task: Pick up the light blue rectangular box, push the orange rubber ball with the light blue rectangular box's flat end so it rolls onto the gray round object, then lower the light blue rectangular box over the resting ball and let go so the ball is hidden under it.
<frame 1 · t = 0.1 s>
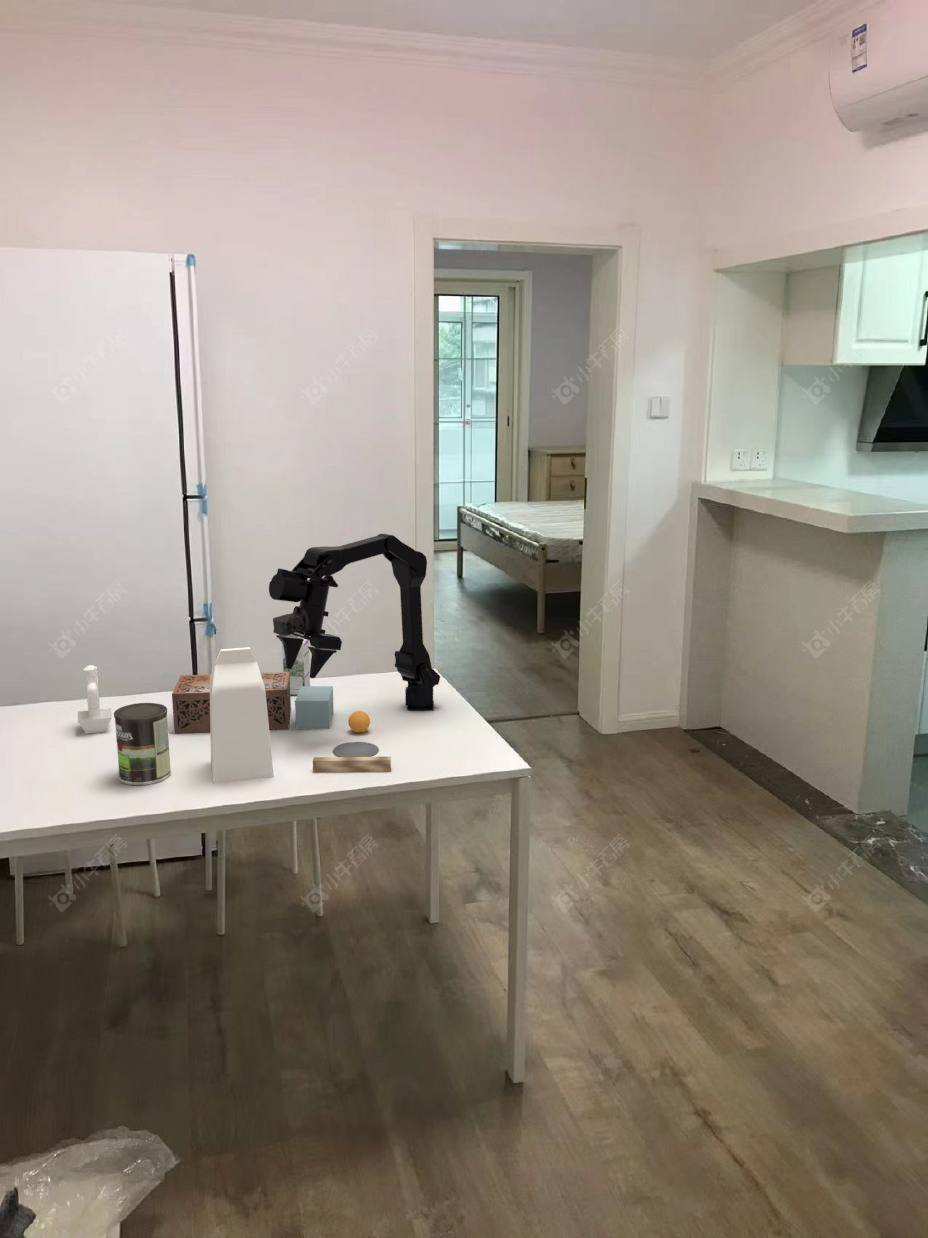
hand: (300, 673, 222), 15 cm above the table, tool pointing down, fingers open, 9 cm apart
gray round object: (355, 750, 218), on the table
syrup box: (297, 693, 259), on the table
tan wooden bar: (352, 769, 208), on the table
milk: (241, 770, 208), on the table
ball: (359, 721, 229), on the table
coffee can: (145, 776, 204), on the table
light blue rectangular box: (315, 720, 237), on the table
tissue box cover: (235, 723, 237), on the table
figurine: (95, 730, 231), on the table
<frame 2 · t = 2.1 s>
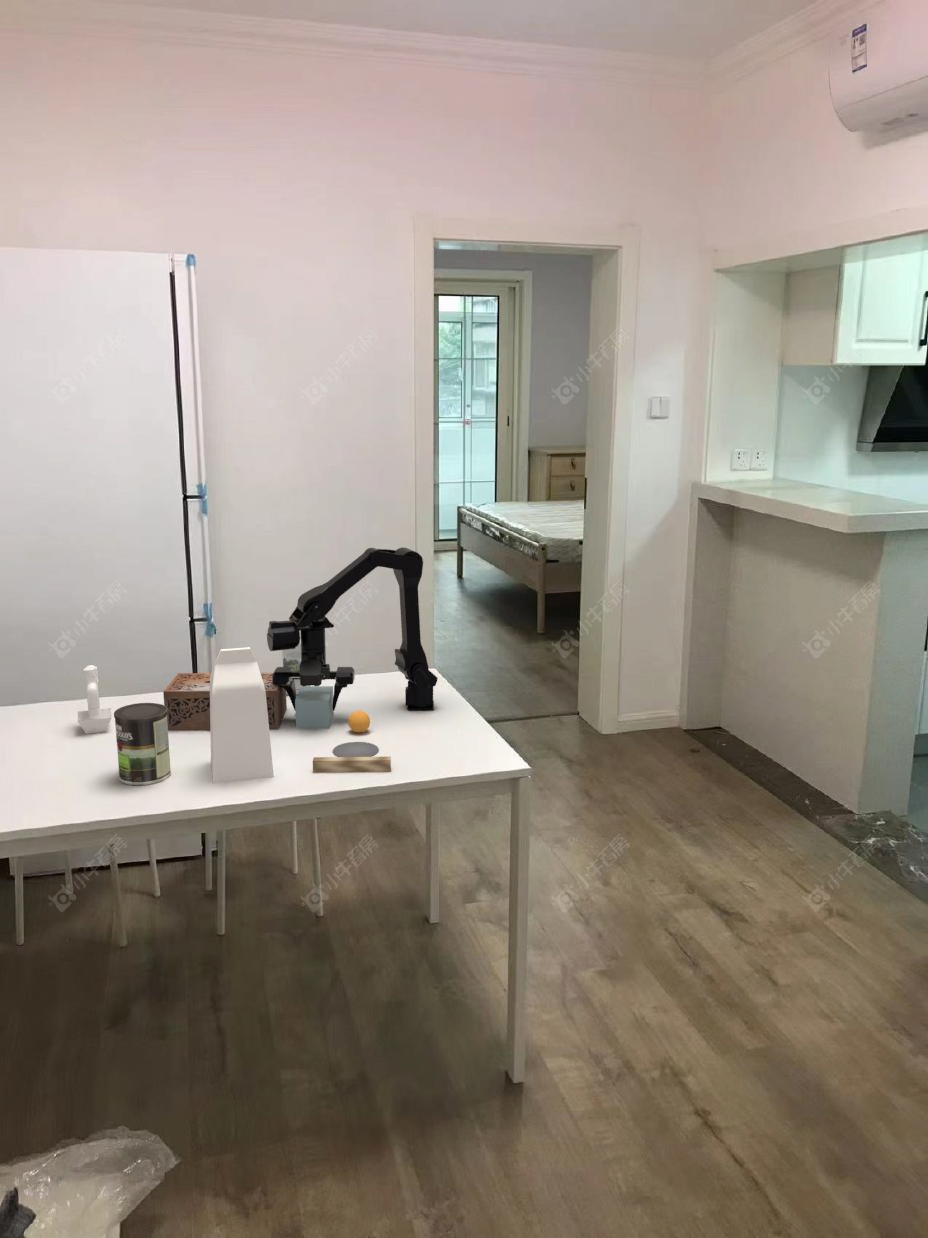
hand: (314, 710, 237), 3 cm above the table, tool pointing down, fingers open, 9 cm apart
tissue box cover: (228, 722, 238), on the table, touching gripper
everything else where it was.
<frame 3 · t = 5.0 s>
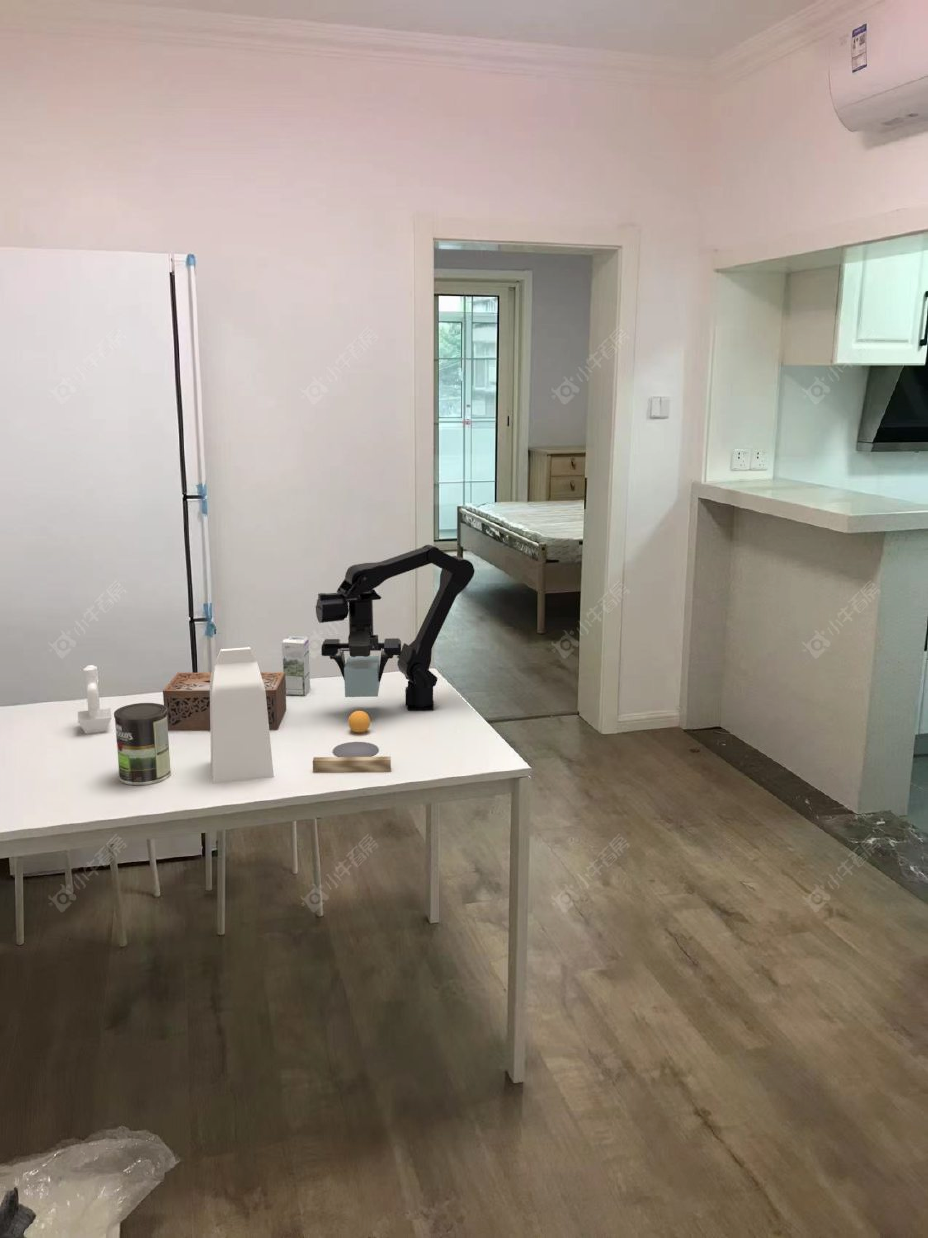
hand: (362, 681, 240), 8 cm above the table, tool pointing down, fingers closed on light blue rectangular box, 8 cm apart
light blue rectangular box: (362, 689, 241), point 6 cm above the table, touching gripper
tissue box cover: (228, 722, 238), on the table
everything else where it was.
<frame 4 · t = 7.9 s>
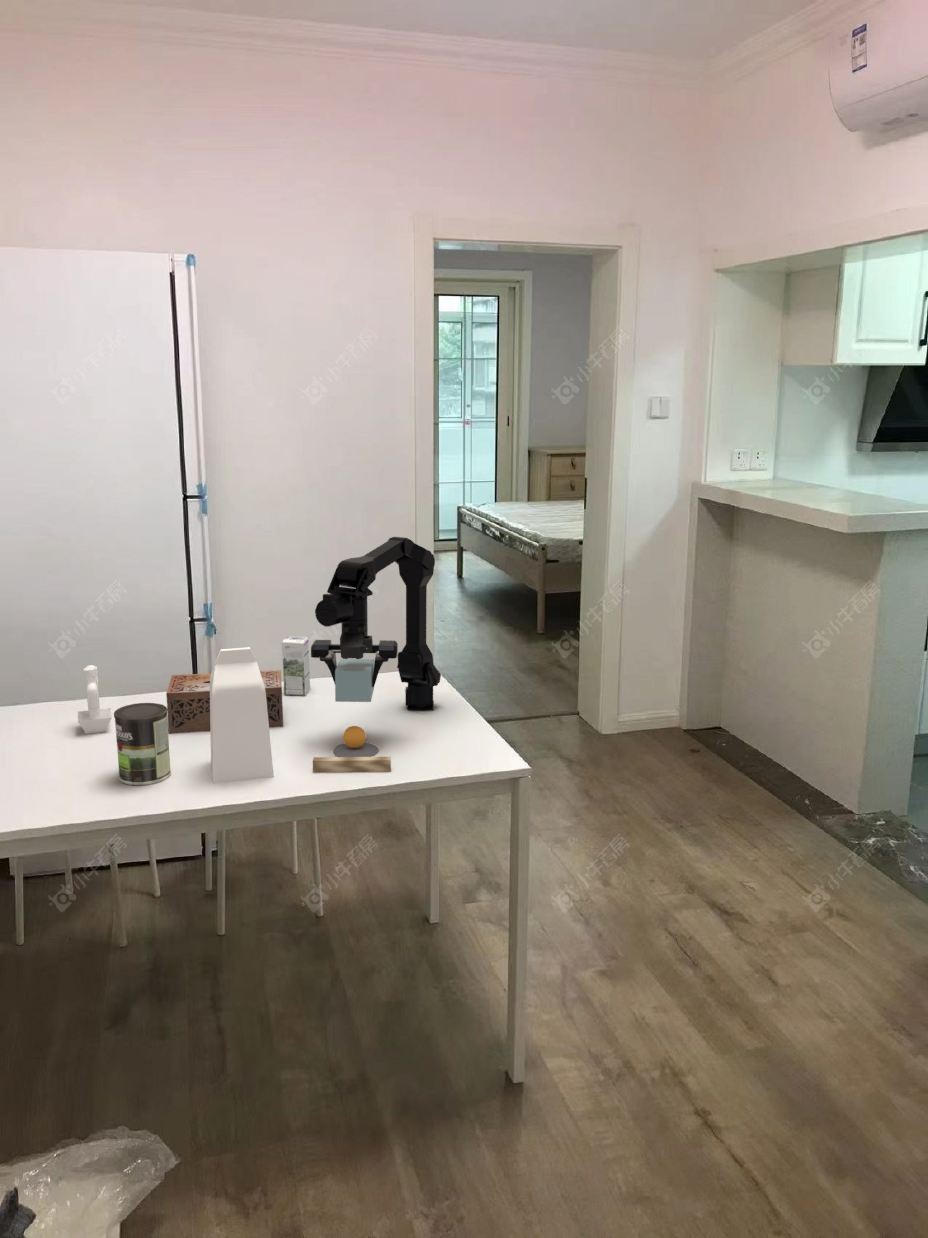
hand: (355, 686, 222), 13 cm above the table, tool pointing down, fingers closed on light blue rectangular box, 8 cm apart
ball: (354, 737, 220), on the table
light blue rectangular box: (355, 694, 223), point 11 cm above the table, touching gripper
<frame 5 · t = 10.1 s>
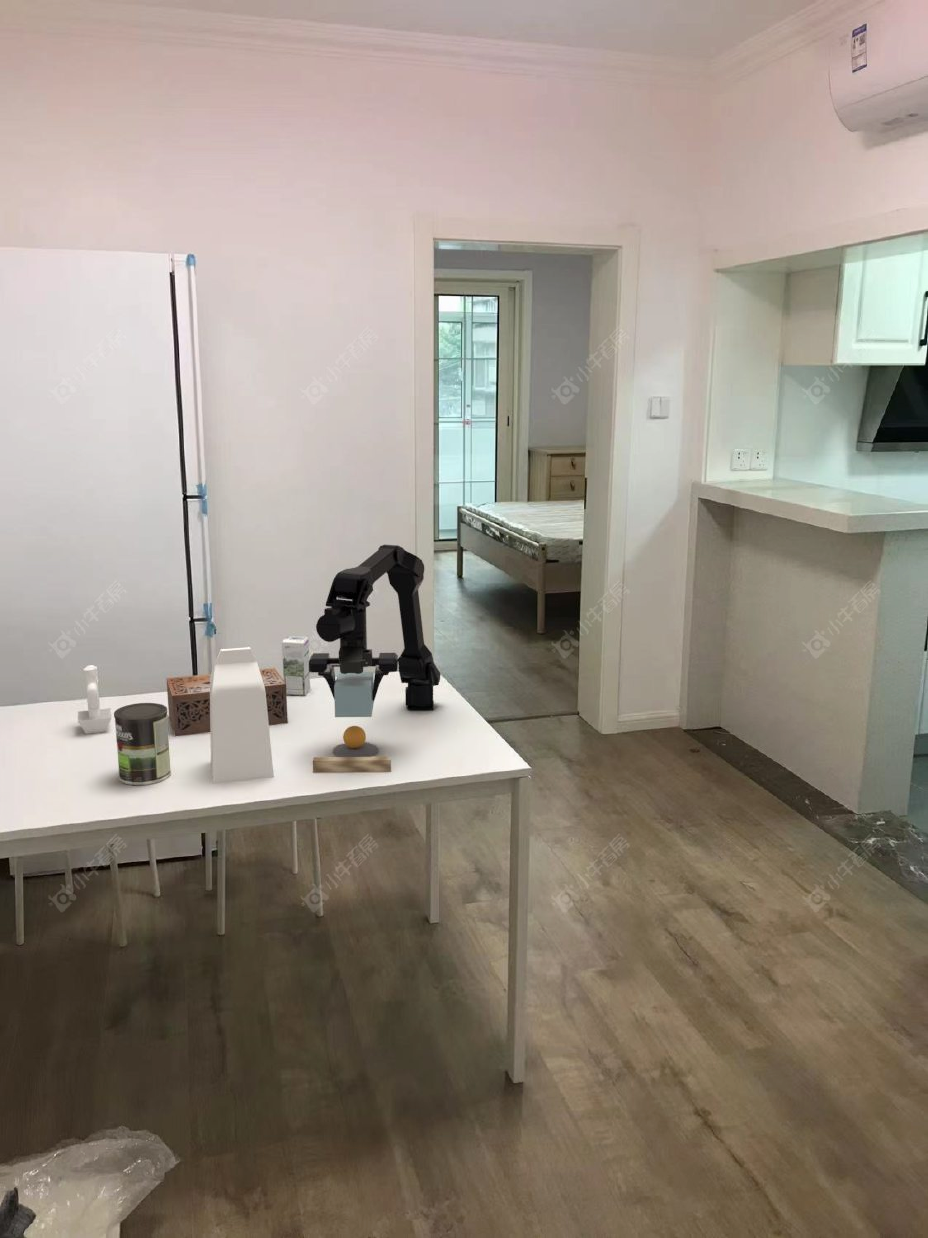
hand: (354, 700, 216), 12 cm above the table, tool pointing down, fingers closed on light blue rectangular box, 8 cm apart
light blue rectangular box: (354, 708, 216), point 10 cm above the table, touching gripper
when the fingers open (2 cm above the table, at t = 12.3 s): light blue rectangular box stays where it is, on the table.
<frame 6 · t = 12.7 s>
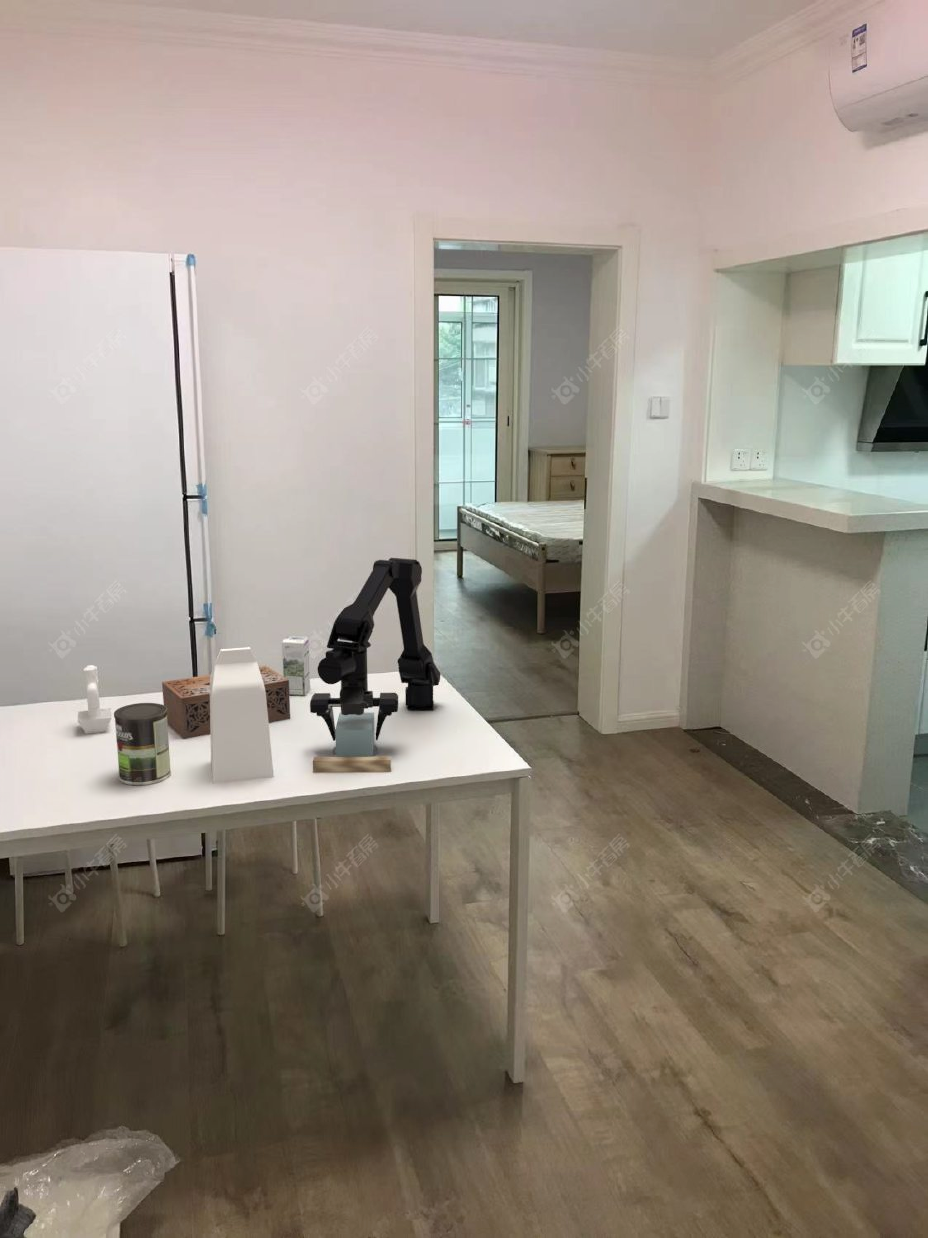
hand: (355, 740, 218), 2 cm above the table, tool pointing down, fingers open, 9 cm apart
light blue rectangular box: (355, 750, 219), on the table
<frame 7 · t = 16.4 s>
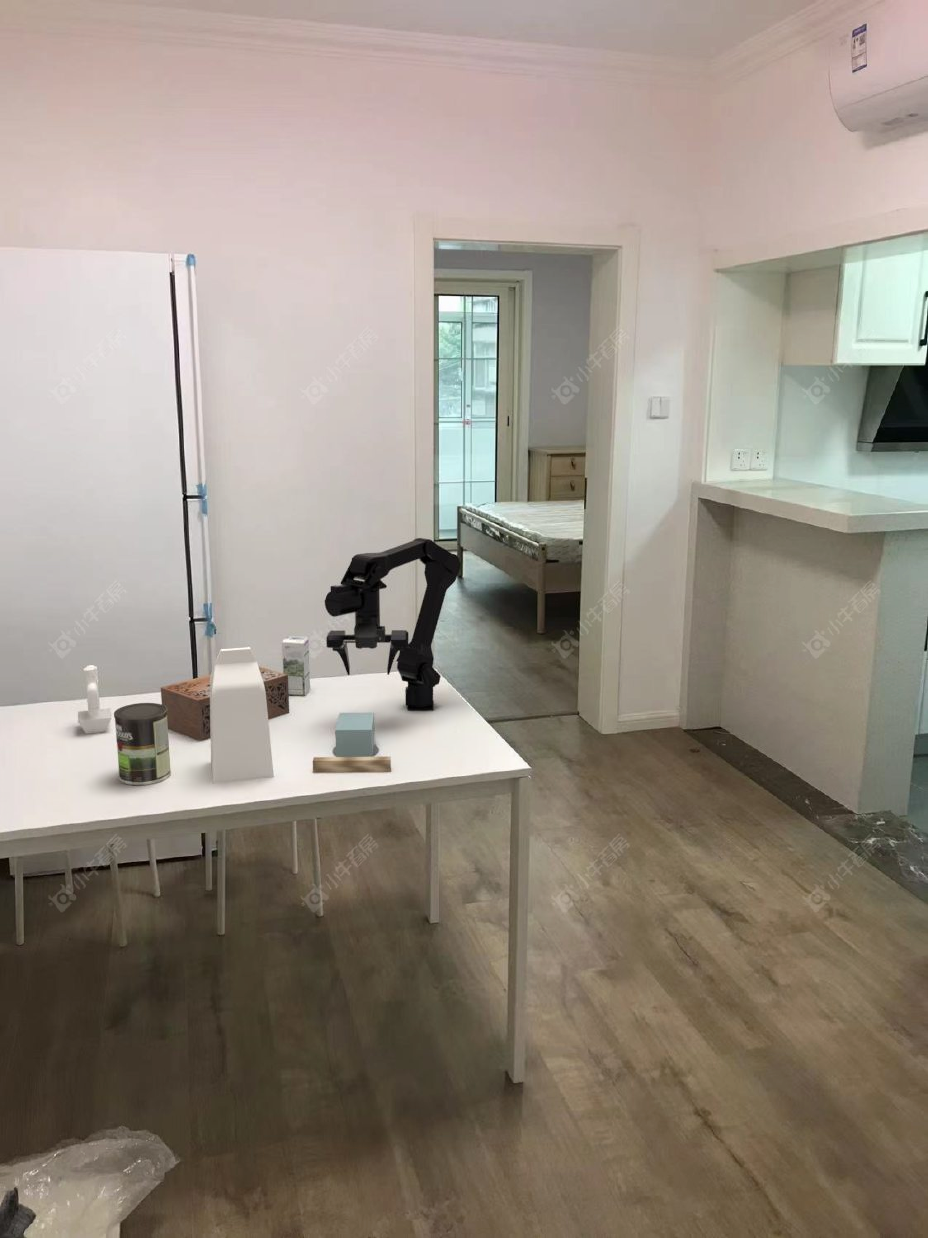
hand: (368, 674, 233), 12 cm above the table, tool pointing down, fingers open, 9 cm apart
at the end: ball 1.7 cm from the light blue rectangular box (horizontally); light blue rectangular box on the table; ball moved 10.2 cm from its start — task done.
